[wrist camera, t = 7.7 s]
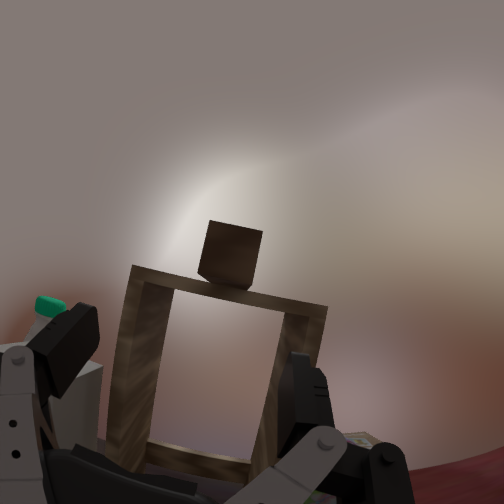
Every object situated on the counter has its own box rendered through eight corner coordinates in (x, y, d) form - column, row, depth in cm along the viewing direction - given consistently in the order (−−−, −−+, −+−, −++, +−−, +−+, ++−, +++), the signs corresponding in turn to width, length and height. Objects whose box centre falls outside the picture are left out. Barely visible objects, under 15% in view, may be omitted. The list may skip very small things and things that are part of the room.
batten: (243, 294, 39) (248, 270, 40) (252, 284, 17) (262, 231, 18) (219, 289, 39) (224, 264, 39) (197, 273, 17) (209, 220, 18)
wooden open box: (249, 498, 35) (297, 305, 40) (255, 556, 21) (328, 306, 26) (135, 473, 34) (166, 277, 40) (105, 523, 21) (132, 264, 26)
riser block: (98, 520, 21) (103, 365, 24) (71, 560, 12) (53, 387, 15) (43, 493, 20) (39, 339, 24) (9, 524, 12) (-18, 347, 15)
